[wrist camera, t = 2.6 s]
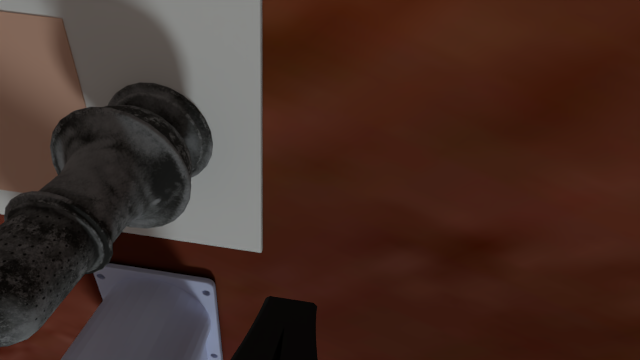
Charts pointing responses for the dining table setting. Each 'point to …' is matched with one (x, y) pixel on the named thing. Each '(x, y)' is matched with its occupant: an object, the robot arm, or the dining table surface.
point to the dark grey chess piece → (97, 197)
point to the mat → (133, 67)
